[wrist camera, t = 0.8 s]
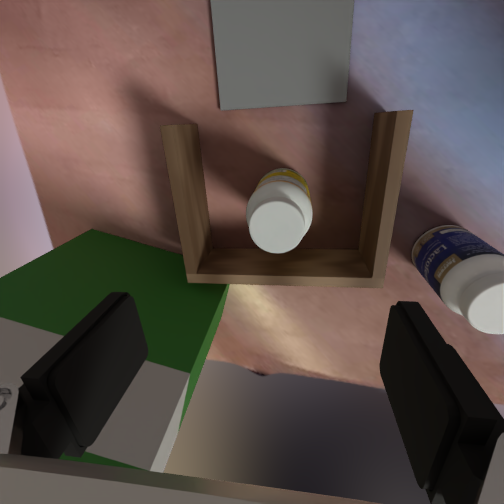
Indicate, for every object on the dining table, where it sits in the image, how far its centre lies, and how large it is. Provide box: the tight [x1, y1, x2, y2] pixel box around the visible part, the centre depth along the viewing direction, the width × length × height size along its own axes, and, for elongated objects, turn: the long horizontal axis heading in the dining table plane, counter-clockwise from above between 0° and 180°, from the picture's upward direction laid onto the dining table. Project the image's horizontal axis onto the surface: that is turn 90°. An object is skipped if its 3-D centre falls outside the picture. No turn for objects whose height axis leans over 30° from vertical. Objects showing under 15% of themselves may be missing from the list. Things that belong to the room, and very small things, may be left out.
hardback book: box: [0, 229, 230, 473], centre depth 24 cm, size 18×7×24 cm, turn 76°
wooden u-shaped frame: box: [160, 110, 413, 288], centre depth 25 cm, size 18×14×6 cm
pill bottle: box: [412, 225, 504, 334], centre depth 24 cm, size 6×6×10 cm
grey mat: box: [211, 0, 354, 110], centre depth 22 cm, size 11×10×1 cm
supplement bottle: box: [246, 168, 312, 253], centre depth 24 cm, size 5×5×10 cm
